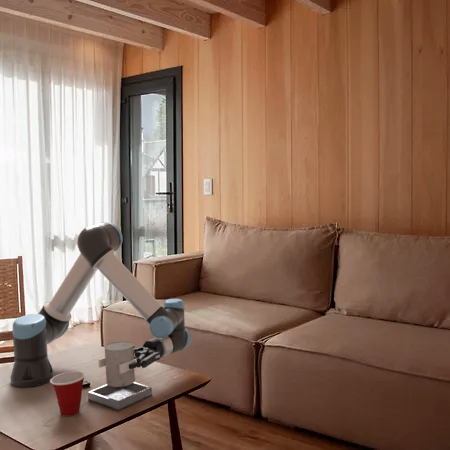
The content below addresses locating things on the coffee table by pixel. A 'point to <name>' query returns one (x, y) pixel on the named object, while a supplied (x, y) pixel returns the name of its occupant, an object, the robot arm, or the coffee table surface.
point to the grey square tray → (119, 395)
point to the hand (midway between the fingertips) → (109, 366)
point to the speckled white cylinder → (118, 363)
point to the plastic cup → (68, 391)
